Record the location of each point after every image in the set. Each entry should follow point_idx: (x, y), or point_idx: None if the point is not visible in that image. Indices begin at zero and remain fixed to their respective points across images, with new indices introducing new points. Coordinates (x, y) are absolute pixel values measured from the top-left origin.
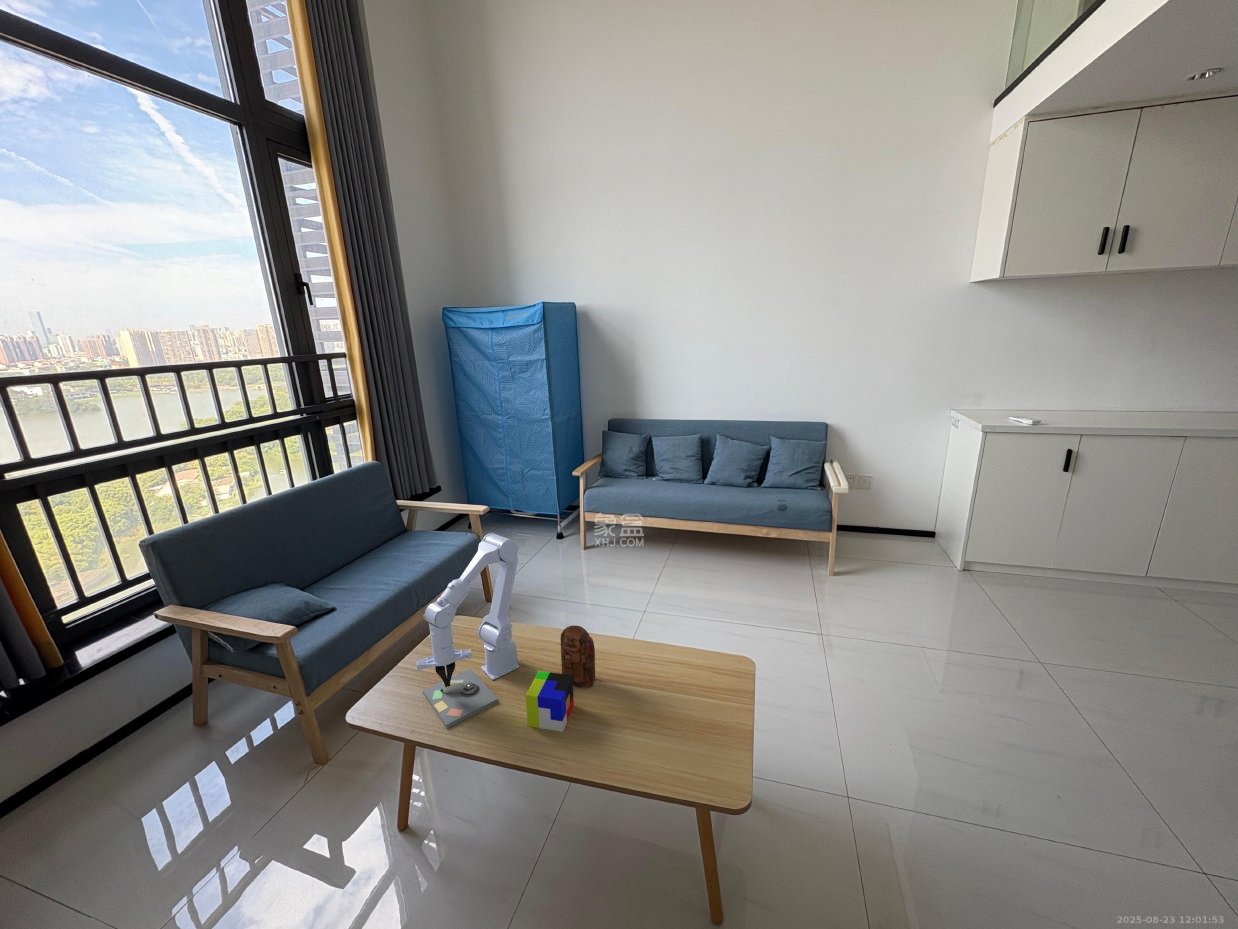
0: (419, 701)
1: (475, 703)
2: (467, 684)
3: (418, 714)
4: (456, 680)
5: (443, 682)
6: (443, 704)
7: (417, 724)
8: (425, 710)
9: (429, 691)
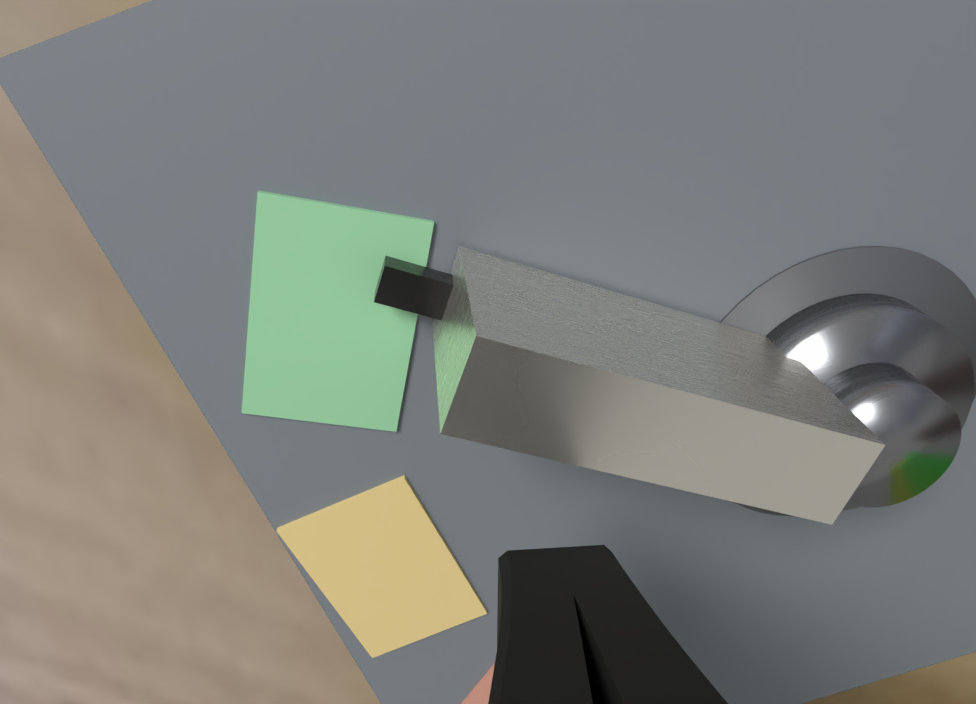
0: (15, 254)
1: (813, 632)
2: (871, 429)
3: (78, 514)
4: (740, 421)
5: (459, 397)
6: (423, 553)
7: (109, 654)
8: (166, 473)
9: (154, 167)
